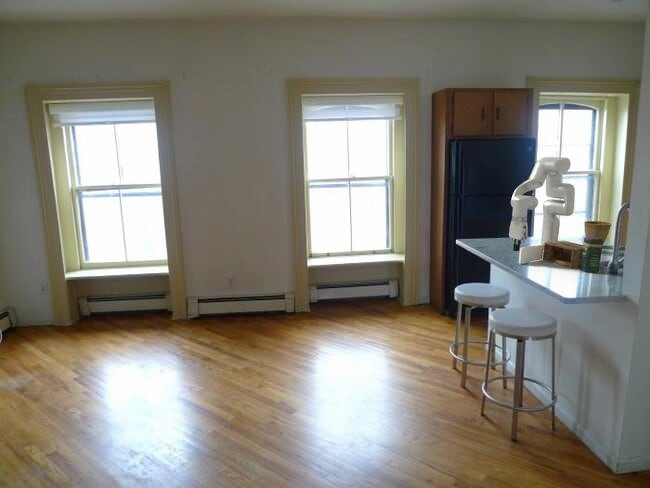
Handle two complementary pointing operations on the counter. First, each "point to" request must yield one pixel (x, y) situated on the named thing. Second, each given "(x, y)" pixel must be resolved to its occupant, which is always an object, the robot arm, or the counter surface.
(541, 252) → the door
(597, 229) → the plant pot
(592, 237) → the coffee jar
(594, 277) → the counter surface
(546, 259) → the cabinet
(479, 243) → the counter surface
